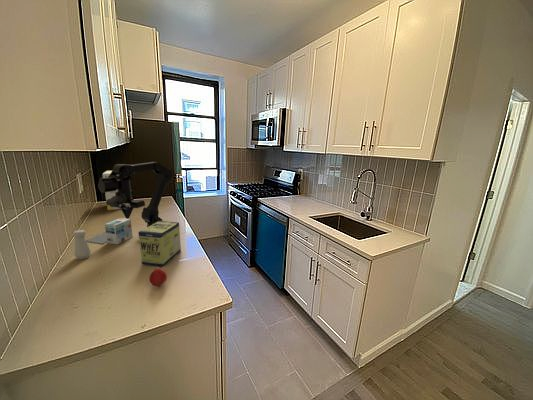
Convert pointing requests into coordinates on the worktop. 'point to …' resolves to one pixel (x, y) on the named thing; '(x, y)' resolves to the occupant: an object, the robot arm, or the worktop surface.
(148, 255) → the protein box
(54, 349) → the worktop surface
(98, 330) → the worktop surface
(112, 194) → the pasta box
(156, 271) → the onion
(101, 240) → the mat
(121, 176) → the robot arm
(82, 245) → the salt shaker
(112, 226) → the light bulb box
